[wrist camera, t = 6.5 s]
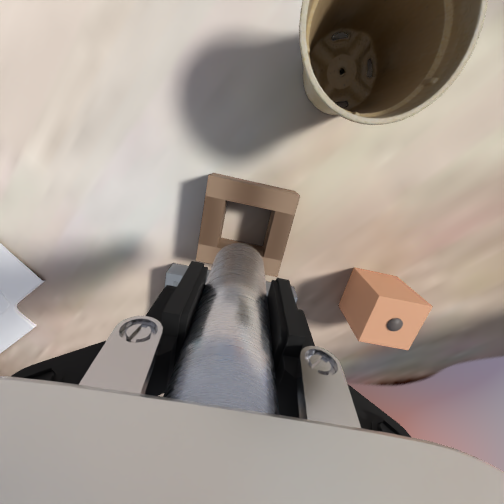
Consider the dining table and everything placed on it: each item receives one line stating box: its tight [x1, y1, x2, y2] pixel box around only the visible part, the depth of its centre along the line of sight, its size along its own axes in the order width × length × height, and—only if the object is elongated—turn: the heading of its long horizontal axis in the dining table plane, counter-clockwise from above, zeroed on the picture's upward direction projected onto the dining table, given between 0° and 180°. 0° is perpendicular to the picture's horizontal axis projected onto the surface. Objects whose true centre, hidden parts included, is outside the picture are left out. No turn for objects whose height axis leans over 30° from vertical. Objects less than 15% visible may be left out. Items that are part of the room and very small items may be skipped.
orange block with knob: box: [338, 268, 433, 350], centre depth 25 cm, size 5×5×6 cm
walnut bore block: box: [196, 173, 300, 277], centre depth 24 cm, size 8×8×3 cm
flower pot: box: [299, 0, 488, 125], centre depth 17 cm, size 9×9×9 cm
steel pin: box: [163, 243, 279, 415], centre depth 9 cm, size 3×3×12 cm
